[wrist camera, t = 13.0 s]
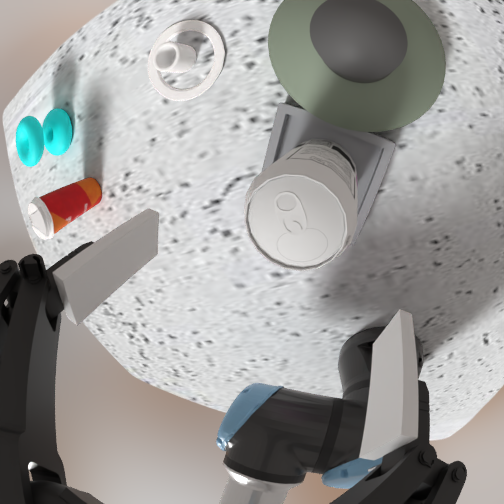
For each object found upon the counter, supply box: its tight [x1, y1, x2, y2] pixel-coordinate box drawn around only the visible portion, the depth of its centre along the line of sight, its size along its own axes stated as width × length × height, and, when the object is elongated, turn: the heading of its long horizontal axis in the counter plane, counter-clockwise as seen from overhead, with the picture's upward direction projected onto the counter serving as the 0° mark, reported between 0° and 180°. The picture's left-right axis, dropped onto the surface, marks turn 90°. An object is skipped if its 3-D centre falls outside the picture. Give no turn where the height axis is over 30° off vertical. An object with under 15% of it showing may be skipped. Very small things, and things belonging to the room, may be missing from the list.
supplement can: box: [244, 139, 358, 271], centre depth 24 cm, size 8×8×15 cm
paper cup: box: [28, 177, 102, 239], centre depth 40 cm, size 8×8×14 cm
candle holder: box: [148, 20, 225, 101], centre depth 27 cm, size 12×12×4 cm
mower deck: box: [262, 0, 446, 246], centre depth 22 cm, size 18×30×9 cm, turn 167°
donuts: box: [16, 108, 72, 167], centre depth 38 cm, size 10×10×10 cm
